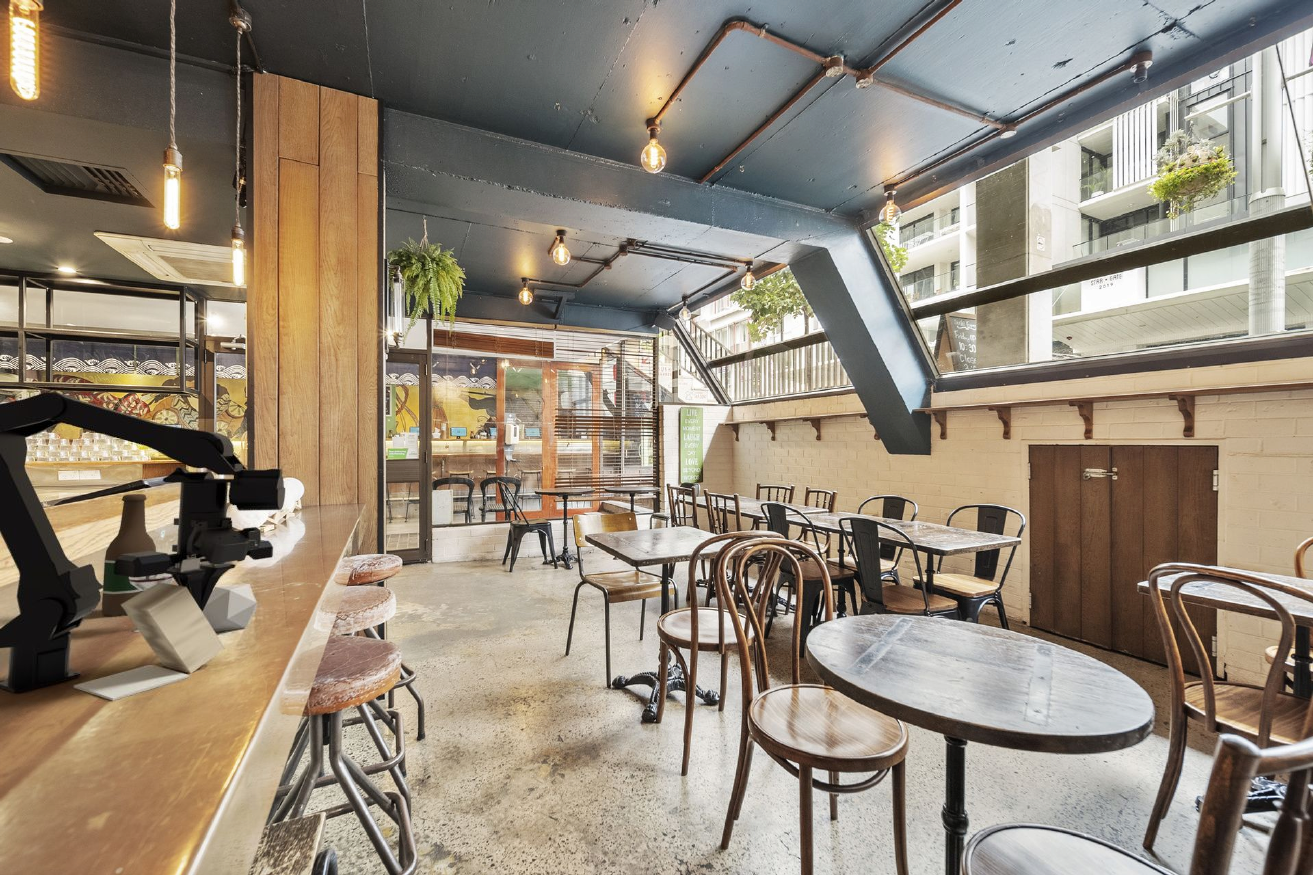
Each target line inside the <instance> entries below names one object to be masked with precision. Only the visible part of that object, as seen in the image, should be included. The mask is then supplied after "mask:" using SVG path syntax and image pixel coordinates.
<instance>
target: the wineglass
mask: <svg viewBox="0 0 1313 875" xmlns="http://www.w3.org/2000/svg"><path fill="white" fill-rule="evenodd" d="M129 581H130V583H131V585H133V586H134V587H136V588H137V589H139V590H143V591H145V590H147V589H148V588H150V587H152V586H153V585H155V584H157V583H159V582H160V583H166V584H171V583H173V582H174V581H175V580H174V578H173V577H172V575H171V574H165V573H164V574H159V575H152V576H145V577H135V578H133V577H129ZM131 631H132V632H134V633H135V632H136V633H140V631H139V630H138V629H137V627H134V628H133V629H131Z"/></svg>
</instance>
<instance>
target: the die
mask: <svg viewBox="0 0 1313 875" xmlns="http://www.w3.org/2000/svg"><path fill="white" fill-rule="evenodd" d="M250 585H251V584H249V583H245V584H237V585H236V584H234V585H220V586H215V587H214V589H213V591H212V593H211V595H210V597H209V599H208V602H207V604H206V606H205V608H204V610H203V611H202V613H203V614H204V616H205V617H206V619H207V620H208V622H209V623H210V625H211V627H212V628H213V630H214V631H215V633H217V632H225V631H232V630H241V629H247V627H248V625H249V623H251V622H250V621H251V619H252V618H253V617H254V614H256V611H257V610H258V607H259V605H258V601H257V599H256V597H255V595H254V592H253V590H252V588H251V586H250Z"/></svg>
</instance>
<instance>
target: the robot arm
mask: <svg viewBox="0 0 1313 875" xmlns="http://www.w3.org/2000/svg"><path fill="white" fill-rule="evenodd" d="M60 424H65V425H67V426H68V425H69V426H71V427H74V428H75V427H76V428H80V429H83V430H85V431H86V430H87V431H89V432H94V433H98V434H101V435H105V436H109V437H112V438H114V439H118V440H122V441H127V442H129V443H134V444H138V445H141V446H145V447H147V448H149V449H153V450H155V452H158V453H160V454H161V455H163V456H166V457H167V458H170V459H172V460H174V461H176V462H178V463H181V464H183V465H186V466H187V467H190V468H192V469H193V468H194V469H207V470H208V471H189V470H188V469H187V468H186V467H184V466H178V467H176V468H175V470H173V472H171V473H170V474H168V475H167V476H165V477H163V478H162V481H163V483H170V484H171V483H177V484H178V483H180V491H179V492H180V494H179V511H178V517H174V518H173V525H174V526H178V527H177V528H178V529H177V530H178V531H177V541H176V542H177V544H172V547H171V552H173V553H166V552H162V551H161V552H160V551H156V552H154V551H145V552H137V553H128V554H121V555H120V556H119V557H118V558H117V560H116V561H115V563H114V574H116V575H122V576H128V577H133V578H135V577H145V576H152V575H159V574H164V573H165V574H171V575H172V577H173V578H174V581H175V583H176V585H178V586H184V587H187V589H188V591H189V592H190V594H191V595H192V597H193V598H194V600H195V602H196V603H197V605H198V606H199V608H200V609H201V611H203V610H204V608H205V606H206V604H207V602H208V599H209V597H210V595H211V593H212V591H213V590H214V588H215V587H216V585H217V583H218V582H219V580H220V578H221V577H222V576H223V575H224V574H225V573H227V572H228V571H229V570H232V569H235V568H236V566H237V565H236V564H232V563H231V562H236V561H237V562H238V563H239V562H244V561H245V560H246V557H247V556H249V557H250V558H251V559H252V560H253V561H256V560H257V561H258V560H264V559H270V558H271V559H272V558H273V556H274V546H273V545H272V543H271V542H270V541H269V540H265V539H262V537H261V536H262V534H261V532H262V531H261V529H259V528H258V527H257V526H253V527H252V526H251V527H243V529H236V530H234V527H233V520H232V517H229V516H228V517H227V509H228V507H227V506H228V501H229V504H230V505H232V506H235V507H236V509H237V511H238V512H239V511H243V512H245V511H281V510H282V509H283V507H284V505H285V504H284V503H285V499H286V498H285V497H286V487H285V486H284V485H285V483H284V477H283V469H282V468H268V469H248V468H247V467H246V466H245V465H244V464H243V462H242V461H240V459H239V458H238V456H236V455H235V454H234V451H235V449H234V444H233V443H232V440H231V439H230V438H229V437H228V436H227V435H225V434H222V433H218V432H214V431H208V430H207V431H206V430H200V429H193V428H185V427H179V426H170V425H166V424H162V423H159V422H156V421H153V420H149V419H145V418H142V417H138V416H135V415H131V414H128V413H124V412H121V411H119V410H114V409H112V408H108V407H104V406H101V405H98V404H95V403H91V402H87V401H83V400H81V399H78V398H77V397H74V396H72V395H68V394H65V393H58V392H51V391H47V392H46V391H45V392H42V393H39V394H36V395H33V396H29V397H27V398H23V399H17V400H13V401H9V402H3V403H0V535H1V538H2V539H3V541H4V544H5V546H6V547H7V550H8V552H9V554H10V556H11V557H12V560H13V562H14V565H15V566H16V569H17V570H18V574H19V578H18V582H17V583H18V584H17V591H16V600H17V601H16V602H17V607H18V610H19V611H18V612H19V614H18V615H17V616H16V617H14V618H12V619H11V620H10V621H8V622H7V623H6V624H5V625H3V626H2V627H1V628H0V649H9V659H8V660H9V661H8V673H7V674H8V675H7V678H5V679H0V688H1V689H4V690H5V691H9V692H11V693H14V694H17V693H22V692H25V691H29V690H34V689H37V688H41V687H45V686H48V685H52V684H56V683H60V682H64V681H68V680H72V679H75V678H79V677H81V674H82V672H80V671H77V670H74V669H71V668H70V660H71V659H70V656H71V655H70V654H71V641H72V640H71V639H72V632H71V631H72V630H74V629H78V628H80V626H81V624H82V623H83V621H84V619H85V617H86V616H88V615H90V614H91V613H92V612H94V610H96V608H97V606H98V605H99V603H100V602H101V600H102V594H101V591H100V590H103V588H104V586H103V583H100V582H99V580H98V579H97V576H96V573H95V572H96V571H95V568H94V566H93V564H91V563H88V564H86V565H83V566H80V567H79V566H78V565H76V563H74V562H72V561H71V560H70V559H69V558H68V557H67V556H66V554H65V551H64V550H63V547H62V545H61V543H60V541H59V539H58V536H57V535H56V533H55V530H54V528H53V526H52V524H51V522H50V520H49V517H48V515H47V514H46V511H45V509H44V507H43V505H42V502H41V500H40V499H39V496H38V494H37V493H36V490H35V488H34V486H33V484H32V482H31V479H30V476H29V475H28V473H27V471H26V461H27V454H28V445H27V439H26V438H29V437H33V436H35V435H39V434H41V433H43V432H45V431H48V430H49V429H51V428H53V427H55V426H58V425H60ZM213 473H214V474H215V475H218V476H233V478H215V476H214V474H213ZM228 488H229V489H228Z"/></svg>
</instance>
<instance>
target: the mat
mask: <svg viewBox="0 0 1313 875" xmlns="http://www.w3.org/2000/svg"><path fill="white" fill-rule="evenodd" d="M188 678H190V674H186V673H183V672H179V671H177V670H176V671H175V670H172V669H169V668H164V667H161V666H157V665H155V664H154V665H153V664H148V665H143V666H140V667H136V668H133V669H129V670H126V671H122V672H118V673H114V674H111V675H108V676H103V677H99V678H97V679H92V680H89V681H84V682H82V683H77V684H74V685H73V688H74V689H77V690H80V691H83V692H86V693H89V694H92V695H95V696H96V697H97V696H98V697H101V698H104V699H106V700H110V701H112V702H113V701H117V700H120V699H124V698H127V697H129V696H133V695H137V694H140V693H143V692H145V691H149V690H152V689H155V688H160V687H163V686H165V685H169V684H173V683H176V682H179V681H183V680H184V679H185V680H186V679H188Z"/></svg>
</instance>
